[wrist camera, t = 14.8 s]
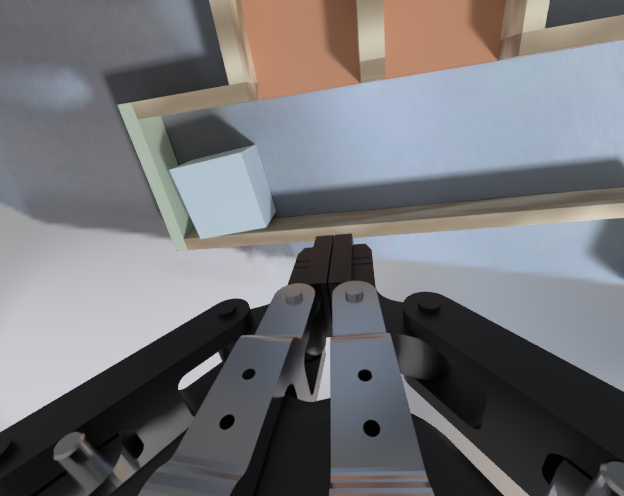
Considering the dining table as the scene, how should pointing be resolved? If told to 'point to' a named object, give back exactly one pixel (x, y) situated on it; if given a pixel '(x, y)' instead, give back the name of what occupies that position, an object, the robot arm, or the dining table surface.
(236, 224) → the pale blue block
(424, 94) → the dining table surface
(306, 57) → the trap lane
